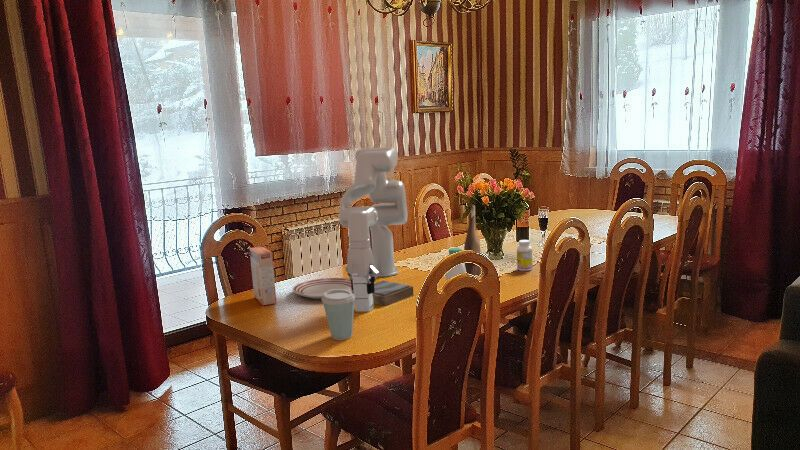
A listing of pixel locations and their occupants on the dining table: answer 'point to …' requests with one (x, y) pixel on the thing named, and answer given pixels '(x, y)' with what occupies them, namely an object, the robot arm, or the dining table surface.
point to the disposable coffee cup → (339, 312)
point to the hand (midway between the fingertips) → (363, 291)
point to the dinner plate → (321, 287)
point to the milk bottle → (456, 269)
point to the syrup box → (362, 294)
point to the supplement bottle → (524, 256)
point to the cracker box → (263, 275)
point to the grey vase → (472, 243)
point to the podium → (390, 292)
